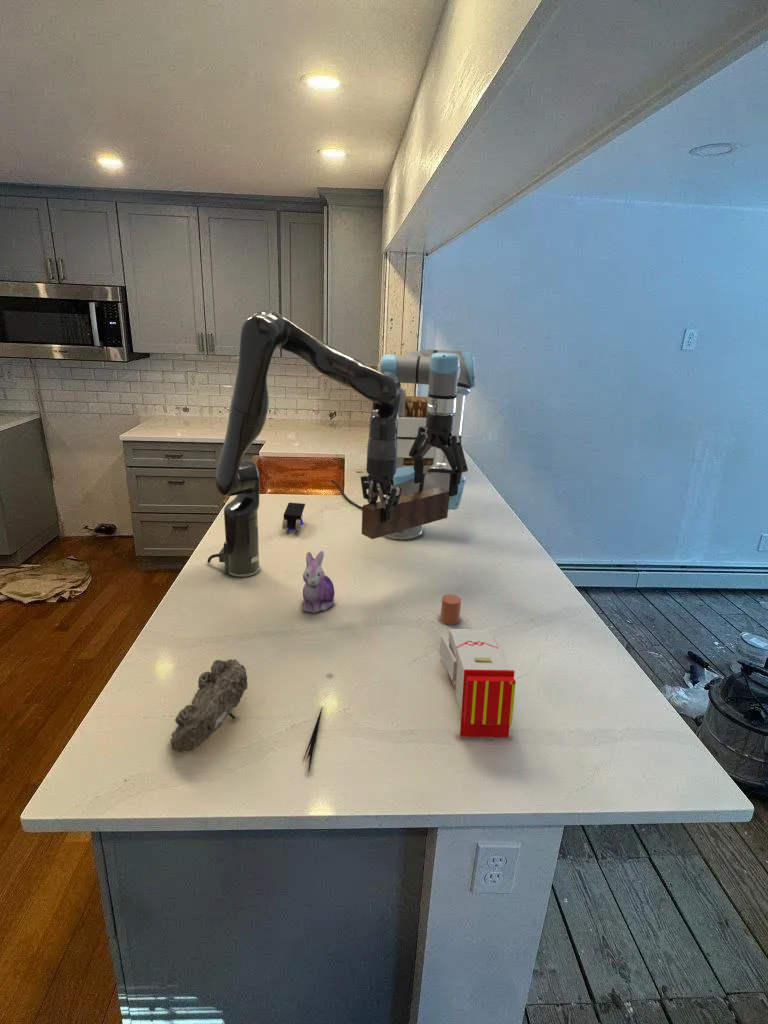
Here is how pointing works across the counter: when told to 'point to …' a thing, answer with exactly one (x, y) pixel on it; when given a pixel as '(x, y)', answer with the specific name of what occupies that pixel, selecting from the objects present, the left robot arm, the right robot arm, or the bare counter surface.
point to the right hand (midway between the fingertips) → (435, 488)
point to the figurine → (316, 585)
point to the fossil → (210, 704)
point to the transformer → (411, 428)
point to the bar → (406, 513)
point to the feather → (313, 740)
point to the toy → (479, 682)
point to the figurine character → (293, 517)
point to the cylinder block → (450, 609)
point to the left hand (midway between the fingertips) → (379, 518)
